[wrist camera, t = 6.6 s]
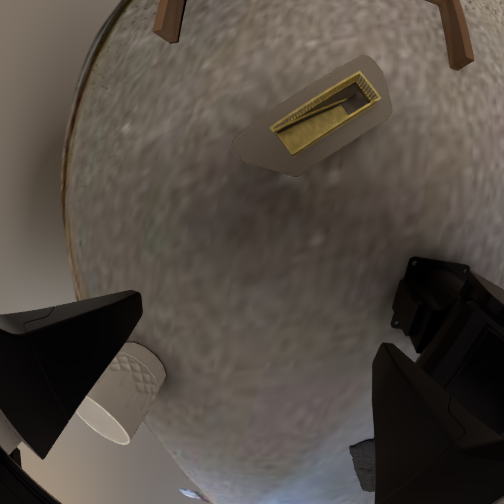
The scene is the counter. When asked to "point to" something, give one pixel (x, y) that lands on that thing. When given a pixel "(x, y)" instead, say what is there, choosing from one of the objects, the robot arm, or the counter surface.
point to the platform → (316, 120)
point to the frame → (448, 3)
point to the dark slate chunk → (365, 463)
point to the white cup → (123, 393)
